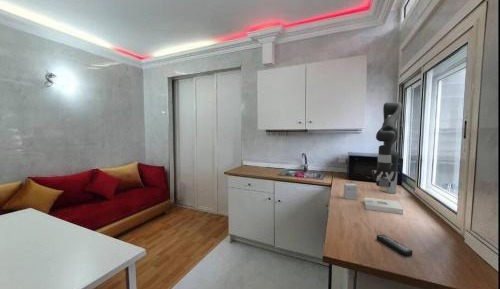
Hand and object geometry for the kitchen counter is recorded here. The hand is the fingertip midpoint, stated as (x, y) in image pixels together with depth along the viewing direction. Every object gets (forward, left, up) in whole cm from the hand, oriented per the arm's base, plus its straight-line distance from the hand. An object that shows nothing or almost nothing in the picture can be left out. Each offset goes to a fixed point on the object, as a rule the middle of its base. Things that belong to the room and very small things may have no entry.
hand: (382, 186), depth 143 cm
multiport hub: (+53, -3, -15) cm, 55 cm away
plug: (0, 0, -2) cm, 2 cm away
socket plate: (0, 0, -14) cm, 14 cm away
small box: (-12, -19, -14) cm, 27 cm away
